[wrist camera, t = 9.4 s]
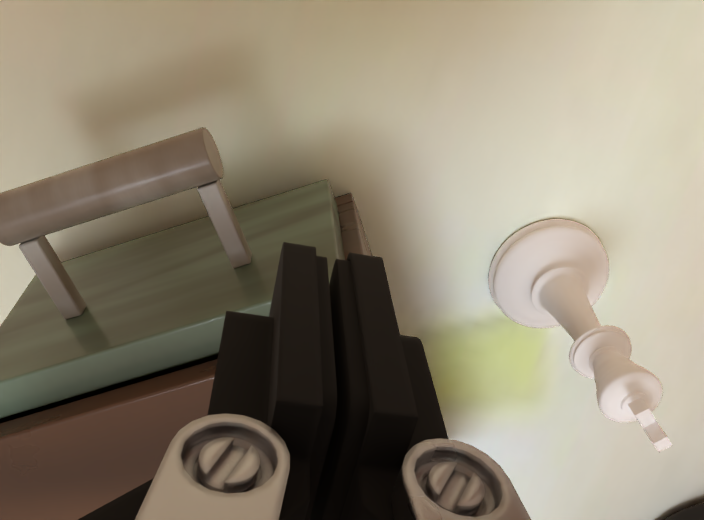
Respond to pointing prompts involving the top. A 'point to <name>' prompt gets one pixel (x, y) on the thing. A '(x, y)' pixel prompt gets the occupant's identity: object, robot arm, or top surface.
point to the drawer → (143, 272)
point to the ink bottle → (689, 513)
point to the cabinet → (110, 432)
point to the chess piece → (575, 314)
